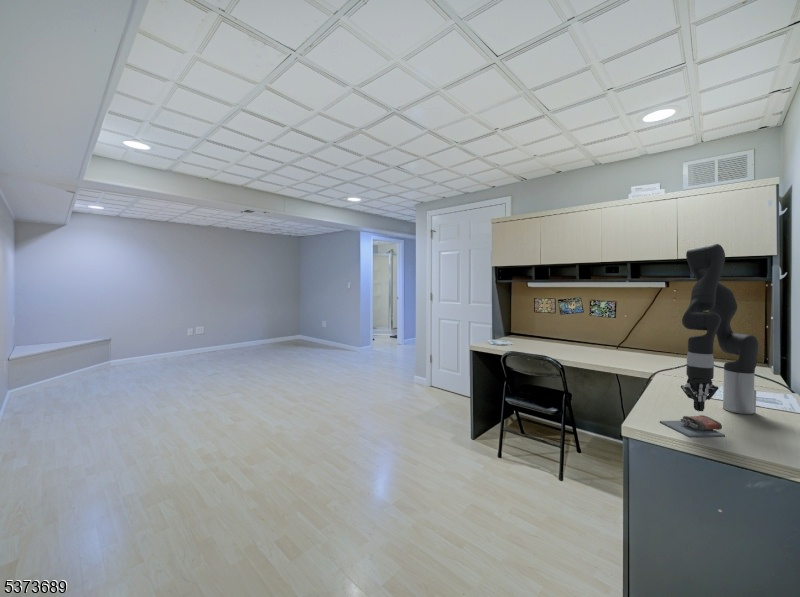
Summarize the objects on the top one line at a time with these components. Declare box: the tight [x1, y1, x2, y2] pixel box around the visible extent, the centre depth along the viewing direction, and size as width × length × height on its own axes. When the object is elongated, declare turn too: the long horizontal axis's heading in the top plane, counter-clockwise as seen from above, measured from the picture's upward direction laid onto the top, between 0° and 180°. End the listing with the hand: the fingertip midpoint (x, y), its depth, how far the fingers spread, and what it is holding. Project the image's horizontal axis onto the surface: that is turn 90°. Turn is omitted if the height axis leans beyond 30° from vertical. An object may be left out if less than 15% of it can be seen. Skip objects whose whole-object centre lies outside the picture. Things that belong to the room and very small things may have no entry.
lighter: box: [680, 414, 723, 431], centre depth 124 cm, size 8×3×10 cm
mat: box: [659, 420, 726, 438], centre depth 124 cm, size 13×13×1 cm
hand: (698, 410), depth 124 cm, fingers closed
